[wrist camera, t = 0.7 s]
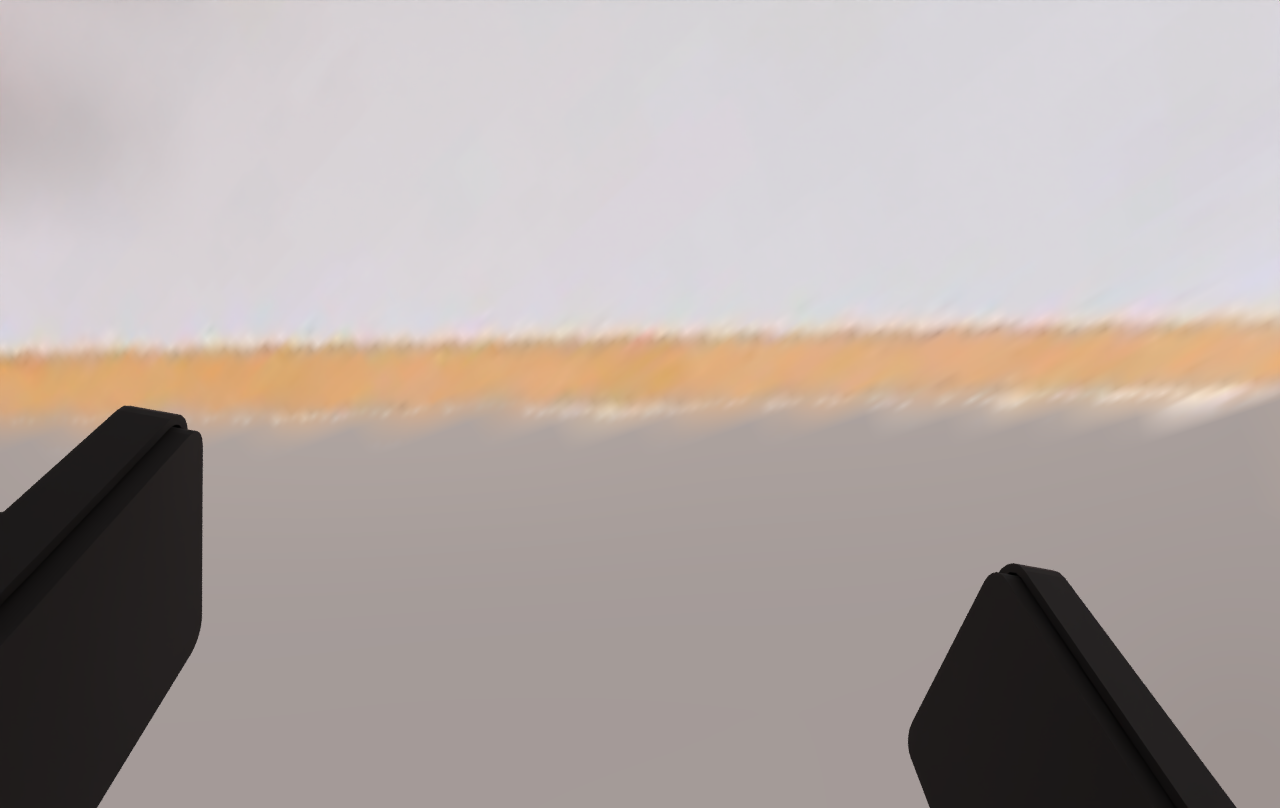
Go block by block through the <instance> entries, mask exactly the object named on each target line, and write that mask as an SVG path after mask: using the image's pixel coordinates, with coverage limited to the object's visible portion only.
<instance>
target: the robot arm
mask: <svg viewBox="0 0 1280 808" xmlns="http://www.w3.org/2000/svg"><path fill="white" fill-rule="evenodd" d="M202 468H203V443H202V437H201V434H200V433H199V432H198V431H193V430H188V428H187V423H186V420H185V418H184V417H183V416H181V415H178V414H173V413H167V412H162V411H156V410H150V409H145V408H139V407H134V406H123V407H121V408H120V409H118V410H117V411H116V412H114V413H113V414H112V415H111V416H110V417H109V418H108V419H107V420H106V421H104V422H103V423H102V424H101V425H100V426H99V427H98V428H97V429H96V430H94V431H93V432H92V433H91V434H90V435H89V436H88V437H87V438H86V439H84V440H83V441H82V442H81V443H80V444H79V445H78V446H77V447H75V448H74V449H73V450H72V451H71V452H70V453H69V454H68V455H67V456H65V457H64V458H63V459H62V460H61V461H60V462H59V463H58V464H57V465H55V466H54V467H53V468H52V469H51V470H50V471H49V472H48V473H47V474H45V475H44V476H43V477H42V478H41V479H40V480H39V481H38V482H36V483H35V484H34V485H33V486H32V487H31V488H30V489H29V490H28V491H26V492H25V493H24V494H23V495H22V496H21V497H20V498H19V499H17V500H16V501H15V502H14V503H13V504H12V505H11V506H10V507H9V508H7V509H6V510H5V511H4V512H0V808H97V807H98V805H99V803H100V802H101V800H102V798H103V797H104V795H105V793H106V792H107V790H108V789H109V787H110V785H111V784H112V782H113V781H114V779H115V777H116V776H117V774H118V772H119V771H120V769H121V767H122V766H123V764H124V762H125V761H126V759H127V758H128V756H129V754H130V753H131V751H132V749H133V747H134V746H135V745H136V743H137V741H138V740H139V738H140V736H141V735H142V733H143V731H144V730H145V728H146V726H147V725H148V723H149V721H150V720H151V718H152V717H153V715H154V713H155V712H156V710H157V708H158V707H159V705H160V704H161V702H162V700H163V699H164V697H165V695H166V694H167V692H168V691H169V689H170V687H171V686H172V684H173V682H174V681H175V679H176V677H177V676H178V674H179V673H180V671H181V669H182V668H183V666H184V664H185V663H186V661H187V659H188V658H189V656H190V655H191V653H192V651H193V649H194V647H195V644H196V642H197V639H198V636H199V632H200V628H201V621H202V484H203V483H202V481H203V479H202V478H203V474H202V473H203V469H202ZM908 736H909V737H908V747H909V753H910V757H911V759H912V762H913V765H914V767H915V770H916V773H917V775H918V778H919V780H920V783H921V786H922V788H923V791H924V794H925V796H926V799H927V801H928V804H929V807H930V808H1236V806H1235V805H1234V804H1233V802H1232V801H1231V800H1230V798H1229V797H1228V796H1227V794H1226V793H1225V792H1224V790H1223V789H1222V788H1221V786H1220V785H1219V784H1218V782H1217V781H1216V780H1215V778H1214V777H1213V776H1212V775H1211V773H1210V772H1209V770H1208V769H1207V768H1206V766H1205V765H1204V764H1203V762H1202V761H1201V760H1200V758H1199V757H1198V756H1197V754H1196V753H1195V752H1194V750H1193V749H1192V748H1191V746H1190V745H1189V744H1188V742H1187V741H1186V739H1185V738H1184V737H1183V735H1182V734H1181V733H1180V731H1179V730H1178V729H1177V727H1176V726H1175V725H1174V724H1173V722H1172V721H1171V719H1170V718H1169V717H1168V716H1167V714H1166V713H1165V711H1164V710H1163V709H1162V707H1161V706H1160V705H1159V703H1158V702H1157V701H1156V700H1155V698H1154V697H1153V695H1152V694H1151V693H1150V691H1149V690H1148V689H1147V687H1146V686H1145V685H1144V684H1143V682H1142V681H1141V679H1140V678H1139V677H1138V675H1137V674H1136V673H1135V671H1134V670H1133V669H1132V667H1131V666H1130V665H1129V663H1128V662H1127V660H1126V659H1125V658H1124V656H1123V655H1122V654H1121V653H1120V651H1119V650H1118V649H1117V647H1116V646H1115V645H1114V643H1113V642H1112V641H1111V639H1110V638H1109V636H1108V635H1107V634H1106V632H1105V631H1104V630H1103V628H1102V627H1101V626H1100V624H1099V623H1098V622H1097V620H1096V619H1095V618H1094V616H1093V615H1092V614H1091V612H1090V611H1089V610H1088V608H1087V607H1086V606H1085V604H1084V603H1083V602H1082V600H1081V599H1080V598H1079V596H1078V595H1077V594H1076V593H1075V591H1074V590H1073V588H1072V587H1071V586H1070V584H1069V583H1068V581H1067V580H1066V579H1065V578H1064V577H1063V576H1062V575H1061V574H1060V573H1059V572H1056V571H1053V570H1047V569H1042V568H1037V567H1031V566H1025V565H1020V564H1014V563H1013V564H1008V565H1006V566H1005V567H1003V568H1002V569H1001V570H1000V572H999V573H998V572H995V573H992V574H991V575H989V576H988V577H987V578H986V580H985V581H984V583H983V585H982V587H981V589H980V591H979V593H978V595H977V597H976V599H975V601H974V603H973V605H972V607H971V609H970V610H969V613H968V614H967V616H966V618H965V620H964V622H963V624H962V626H961V628H960V630H959V632H958V634H957V636H956V638H955V640H954V642H953V644H952V646H951V647H950V649H949V652H948V653H947V655H946V658H945V659H944V661H943V663H942V665H941V667H940V669H939V671H938V673H937V675H936V677H935V679H934V681H933V683H932V685H931V687H930V689H929V690H928V692H927V694H926V696H925V698H924V700H923V702H922V704H921V706H920V708H919V710H918V712H917V714H916V716H915V718H914V720H913V722H912V724H911V727H910V730H909V735H908Z"/></svg>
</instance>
